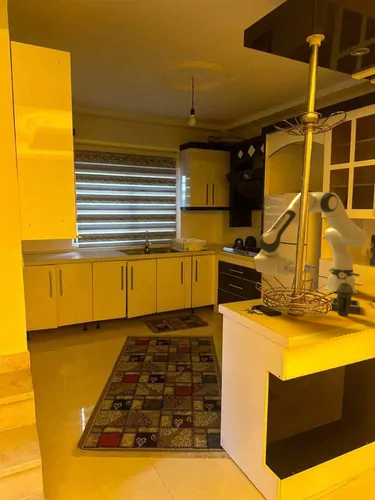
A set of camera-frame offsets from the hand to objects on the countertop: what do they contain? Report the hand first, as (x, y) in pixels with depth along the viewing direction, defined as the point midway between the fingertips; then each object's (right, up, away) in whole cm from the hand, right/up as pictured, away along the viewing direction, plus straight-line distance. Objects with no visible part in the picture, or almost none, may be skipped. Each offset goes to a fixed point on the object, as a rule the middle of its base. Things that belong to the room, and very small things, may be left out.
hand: (315, 269), depth 171 cm
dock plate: (+18, -20, +8) cm, 28 cm away
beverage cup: (+12, -22, -2) cm, 25 cm away
